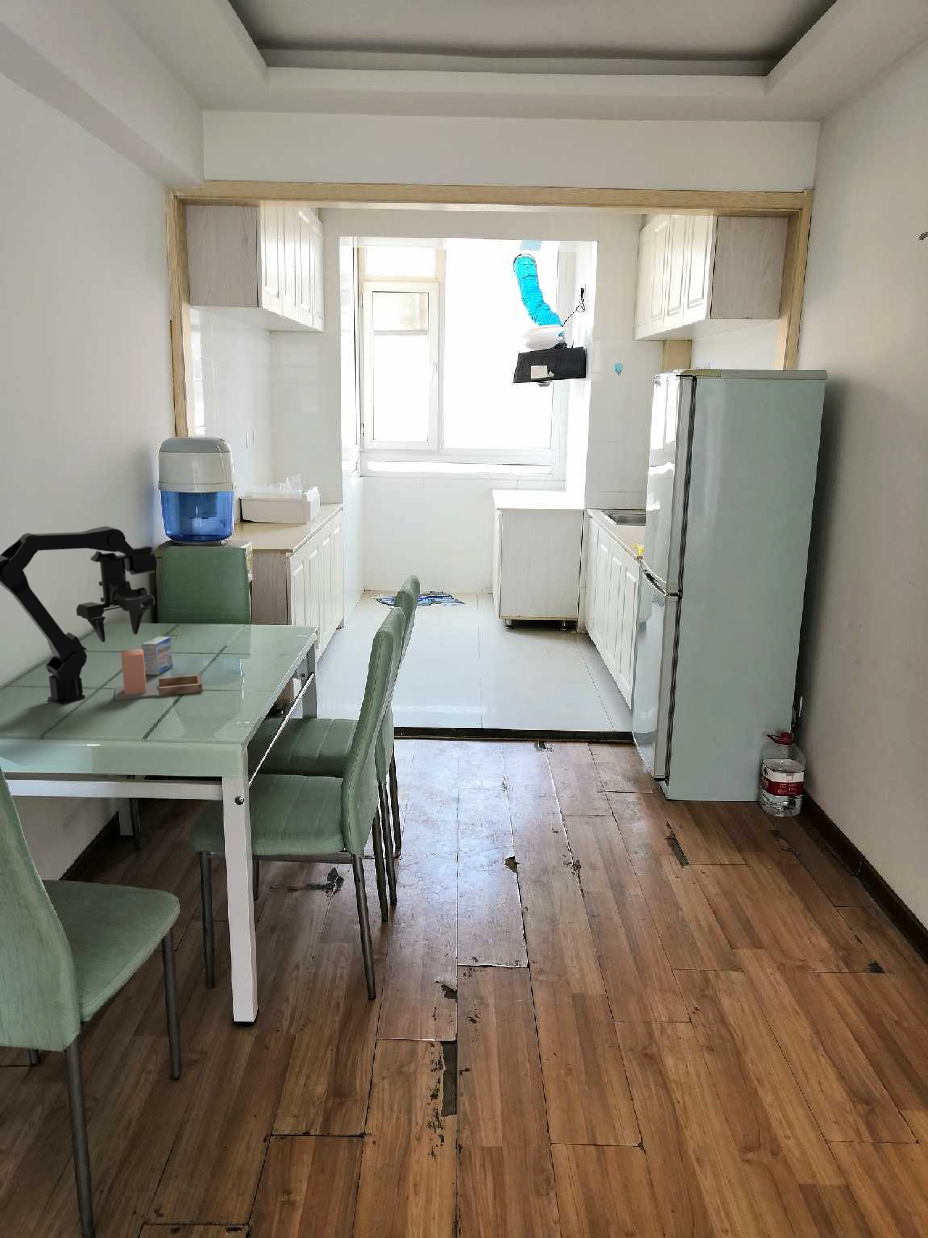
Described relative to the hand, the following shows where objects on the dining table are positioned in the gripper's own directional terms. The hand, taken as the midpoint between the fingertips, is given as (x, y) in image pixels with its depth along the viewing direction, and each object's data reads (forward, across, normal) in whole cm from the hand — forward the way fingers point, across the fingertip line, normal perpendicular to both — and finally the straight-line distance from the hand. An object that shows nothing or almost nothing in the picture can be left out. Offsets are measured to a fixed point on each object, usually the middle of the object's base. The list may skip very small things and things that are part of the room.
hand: (119, 638), depth 236 cm
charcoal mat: (+13, -1, -6) cm, 15 cm away
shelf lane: (+13, +8, -13) cm, 20 cm away
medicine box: (+13, +14, +5) cm, 20 cm away
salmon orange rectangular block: (+12, -1, -6) cm, 14 cm away
